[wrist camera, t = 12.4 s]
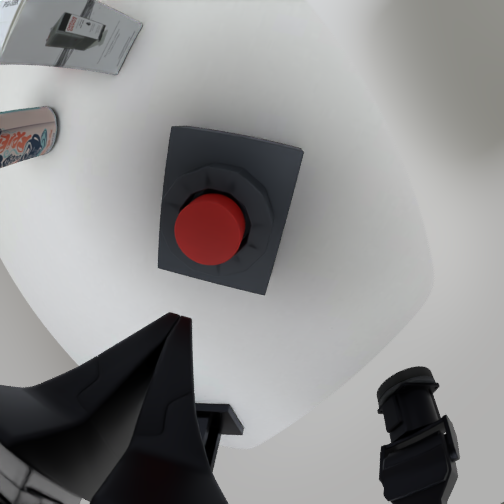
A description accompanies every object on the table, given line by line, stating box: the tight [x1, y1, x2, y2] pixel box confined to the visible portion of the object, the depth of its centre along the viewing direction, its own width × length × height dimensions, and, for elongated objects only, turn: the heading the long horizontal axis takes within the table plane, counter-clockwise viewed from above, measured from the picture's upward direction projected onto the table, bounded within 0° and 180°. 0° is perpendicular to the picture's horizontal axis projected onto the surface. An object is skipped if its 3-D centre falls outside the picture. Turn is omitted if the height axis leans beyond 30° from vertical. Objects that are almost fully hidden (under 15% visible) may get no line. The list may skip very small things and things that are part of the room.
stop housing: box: [158, 126, 304, 295], centre depth 17 cm, size 10×8×4 cm
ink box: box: [0, 0, 142, 75], centre depth 9 cm, size 9×5×12 cm, turn 63°
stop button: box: [174, 193, 245, 265], centre depth 15 cm, size 4×4×2 cm
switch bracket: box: [195, 404, 244, 472], centre depth 27 cm, size 10×7×12 cm
